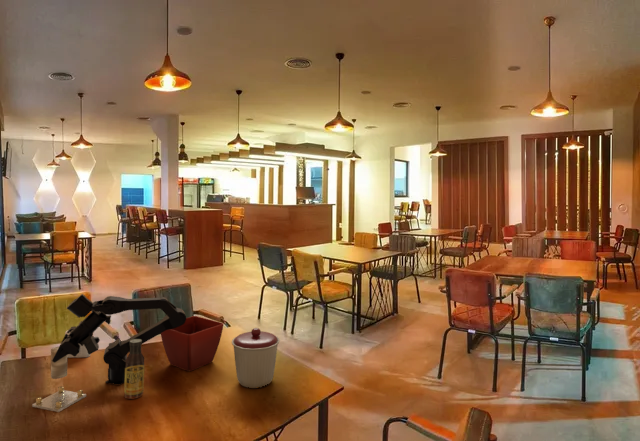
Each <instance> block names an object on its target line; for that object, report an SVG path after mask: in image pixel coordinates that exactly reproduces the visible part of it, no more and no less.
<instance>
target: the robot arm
mask: <svg viewBox="0 0 640 441" xmlns="http://www.w3.org/2000/svg"><path fill="white" fill-rule="evenodd" d="M66 309H67V310H68V311H69V312H71V313H72V314H73V315H75V316H76V317H77V318H84V319H83V320H81V321H80V322H79V323H78V324H77V325H76V326H74V325H73V326H70V328H69V329H68V331H67V330H66V331H67V333H69V332H70V334H69V335H67V334H65V333H64V336H63V338H62V340H61V342H60V344H59V348H58V350H57V352H56V354H55V356H54V358H53V360H52V361H53V362H56V361H58V360H60V359H61V358H63V357H64V356H66V355H68V354H71V355H73V356H76V355H77V354H78V353H79V352H80V345H81V346H83V345H84V346H85V348H86V349H87V351H88V354H90V355H92V354H94V353H95V352H97V351H99V350H100V349H99V348H100V346H99V342H100V341H101V340H100V337H99V336H94V333H95V331H96V330H98V328H99V327H100V326H102V325H103V324H104V323H106V324H108V325H110V324H111V318H112V315H115V314H116V315H117V314H120V313H122V312H127V311H138V310H139V311H140V310H156V309H157V310H158V309H160V310H161V311H162V312H163V313H164V314H165V315H164V317H162V319H160V320H159V321H157V322H156V323H154V324H152V325H150V326H148V327H147V328H145V329H143V330H142V331H140V332H138V333H136V334H134V335H132V336H131V337H128V338H127V339H125V340H121V338H117V339H116V340H114V341H112V342H109V343H108V346H107V347H106V348H105V350H104V353H103V358H102V359H103V362H104V363H105V364H106V365H108V368H107V380H105V384H110V385H111V384H112V385H117V386H119V385H122V384H125V366H126V359H127V357H128V355H129V352H130V345H129V343H130V340H133V339H141V340H142V345H143V344H144V343H147V342H148V341H150V340H152V339H153V338H155V337H157V336H159V335H161V333H162V332H164V331H166V330H170V329H174V328H177V327H179V326H182V325H183V324H184V323H185V321H186V318H187V316H186V313H185V311H184V310H183V308H180V307H176V306H175V305H174V304H173V303H172V302H171V301H170V300H168V299H167V297H165V296H161V297H160V296H159V297H146V298H144V297H143V298H142V297H141V298H126V297H121V296H114V295H113V296H112V295H110V296H106V297H105V298H104V299H101V300H95V301H92V300H90V299H89V298H88V297H87V296H86V295H85V294H83V293H81V294H80V295H78V296H77V297H76V298H74V299H73V300H72V301H71V302H70V303H69V304H68V305H67V307H66ZM79 344H80V345H79Z"/></svg>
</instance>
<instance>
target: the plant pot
mask: <svg viewBox="0 0 640 441" xmlns="http://www.w3.org/2000/svg"><path fill="white" fill-rule="evenodd" d="M223 330H224V323H223V322H219V321H217V320H216V321H215V320H213V319H209V318H205V317H201V316H197V315H194V316H193V315H192V316H188V317H186V321H185V323H184V324H183V325H182V326H179V327H177V328H174V329H170V330H166V331H164V332H162V333H160V338H161V342H162V346H163V349H164V352H165V354H166V356H167V360H168V363H169V364H170V365H172V366H173V367H176V368H179V369H182V370H184V371H186V372H191V371H194V370H197V369H199V368H202V367H204V366H206V365H208V364H211V363H213V360H214V359H215V356H216V353H217V350H218V347H219V344H220V342H221V337H222V334H223Z"/></svg>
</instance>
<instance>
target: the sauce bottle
mask: <svg viewBox="0 0 640 441" xmlns="http://www.w3.org/2000/svg"><path fill="white" fill-rule="evenodd" d="M129 345H130V352H129V353H128V354H127V359H126V366H125V382H124V386H123V387H124V388H123V390H124V391H123V392H124V398H125V399H127V400H134V399H135V400H136V399H138V398H141V397H142V396H143V394H144V386H145V385H144V383H145V356H144V355H143V353H142V345H143V344H142V340H141V339H133V340H130V343H129Z"/></svg>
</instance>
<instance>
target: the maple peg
mask: <svg viewBox="0 0 640 441" xmlns="http://www.w3.org/2000/svg"><path fill="white" fill-rule="evenodd" d="M59 346H60V345H59ZM59 346H58V345H57V346H55V347H52V348H50V378H51V379H53V380H54V379H55V380H56V379H63V378H65V377H67V376H68V358H67V355H66V356H64V357H63V358H61V359H60V360H58V361H56V362H53V361H52V360H53V358H54V356H55V354H56V352H57V350H58V348H59Z"/></svg>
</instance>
